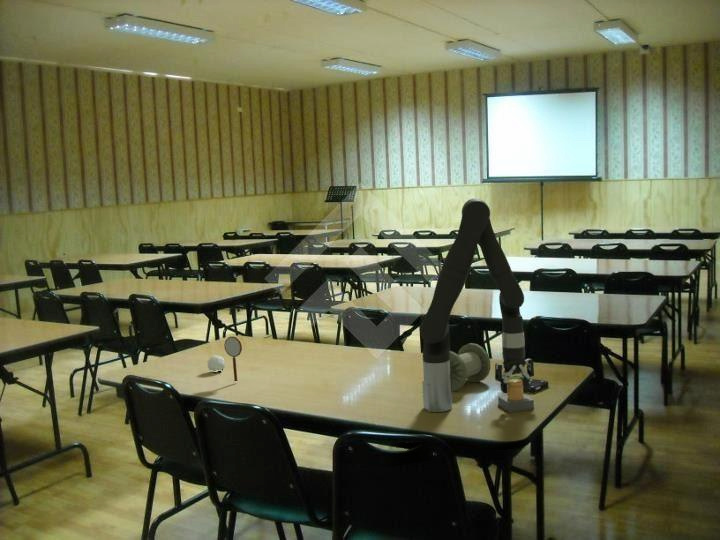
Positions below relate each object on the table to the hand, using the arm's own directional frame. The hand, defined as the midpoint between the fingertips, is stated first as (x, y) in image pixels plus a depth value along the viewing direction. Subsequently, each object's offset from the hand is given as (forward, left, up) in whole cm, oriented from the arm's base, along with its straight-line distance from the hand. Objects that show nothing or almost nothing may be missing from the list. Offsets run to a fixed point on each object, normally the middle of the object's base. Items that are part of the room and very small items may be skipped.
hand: (515, 390), depth 257 cm
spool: (-7, +33, -6) cm, 34 cm away
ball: (-98, +101, -6) cm, 141 cm away
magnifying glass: (-91, +77, -6) cm, 119 cm away
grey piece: (0, 0, -6) cm, 6 cm away
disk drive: (+13, +21, -6) cm, 25 cm away
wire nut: (0, 0, -3) cm, 3 cm away
